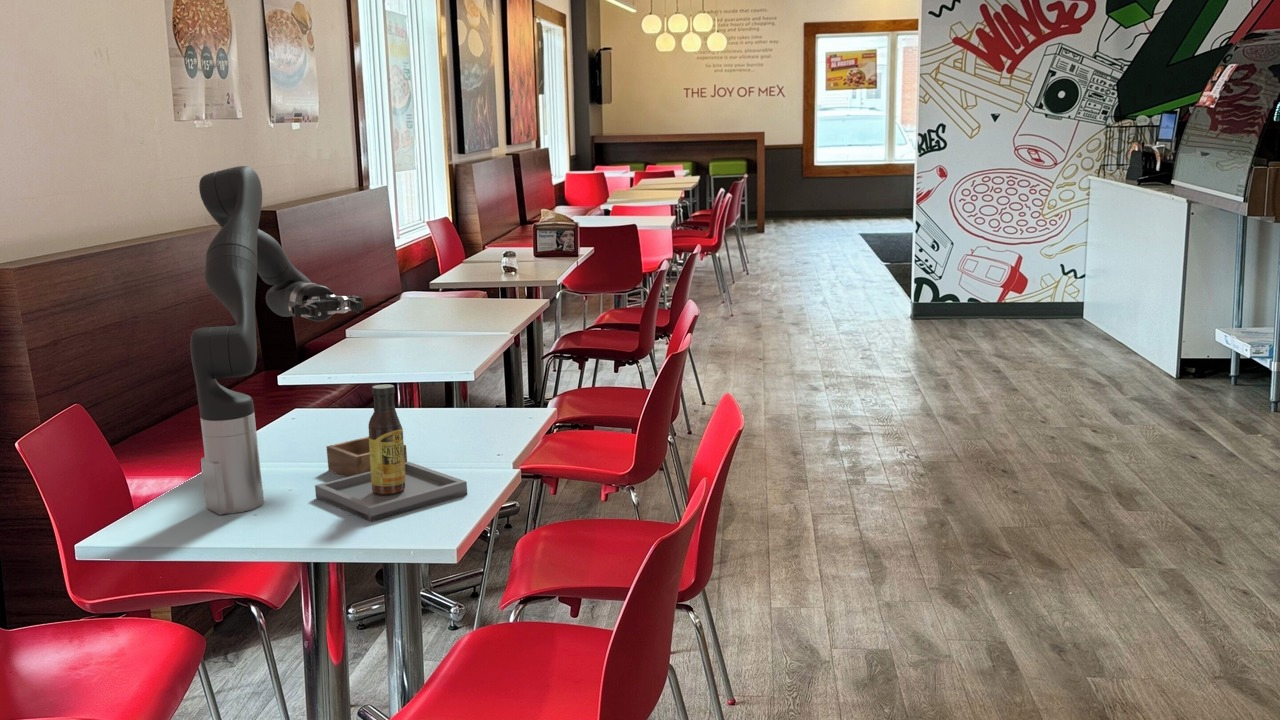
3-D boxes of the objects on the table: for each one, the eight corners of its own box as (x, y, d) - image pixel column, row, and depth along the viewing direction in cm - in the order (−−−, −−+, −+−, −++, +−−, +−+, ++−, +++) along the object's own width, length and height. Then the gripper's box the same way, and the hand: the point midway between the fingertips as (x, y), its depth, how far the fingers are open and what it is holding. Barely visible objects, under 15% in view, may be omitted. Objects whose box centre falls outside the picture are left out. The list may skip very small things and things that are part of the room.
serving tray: (371, 522, 196) (370, 508, 196) (316, 498, 211) (314, 485, 210) (467, 494, 210) (466, 481, 209) (409, 473, 224) (408, 461, 224)
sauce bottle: (387, 498, 206) (378, 391, 202) (364, 493, 209) (355, 388, 205) (414, 489, 211) (406, 384, 207) (392, 483, 214) (383, 381, 211)
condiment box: (358, 481, 220) (356, 457, 219) (328, 470, 229) (326, 446, 228) (407, 469, 227) (405, 445, 226) (376, 458, 236) (374, 435, 235)
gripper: (276, 287, 235) (300, 294, 221) (343, 280, 242) (370, 287, 229) (280, 323, 236) (303, 332, 223) (347, 315, 244) (373, 324, 230)
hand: (337, 309), depth 226 cm, fingers open, 8 cm apart
